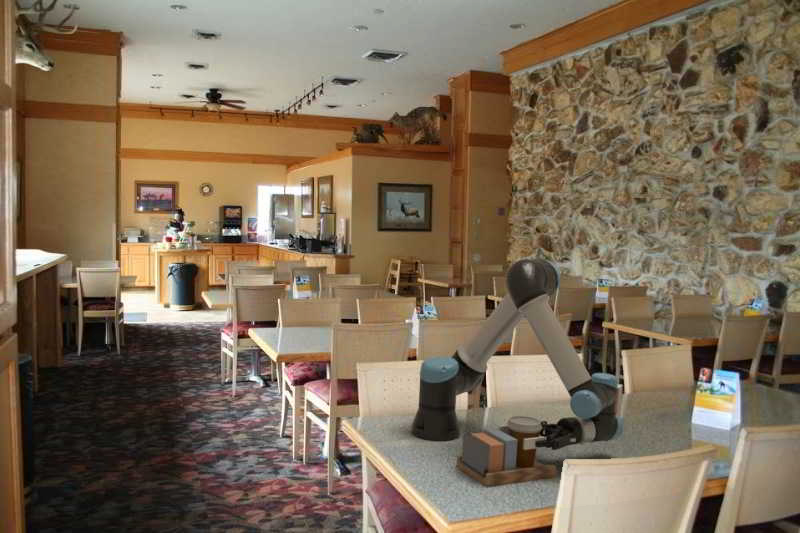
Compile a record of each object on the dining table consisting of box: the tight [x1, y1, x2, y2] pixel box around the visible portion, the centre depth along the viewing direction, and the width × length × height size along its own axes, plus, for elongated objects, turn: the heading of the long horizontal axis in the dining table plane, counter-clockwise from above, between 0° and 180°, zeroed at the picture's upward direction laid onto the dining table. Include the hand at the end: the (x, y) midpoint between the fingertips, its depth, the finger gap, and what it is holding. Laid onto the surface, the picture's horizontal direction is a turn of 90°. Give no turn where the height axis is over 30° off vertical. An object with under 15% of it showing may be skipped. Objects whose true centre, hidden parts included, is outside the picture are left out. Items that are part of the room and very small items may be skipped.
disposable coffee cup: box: [506, 415, 542, 468], centre depth 183 cm, size 10×10×12 cm
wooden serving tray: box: [456, 453, 557, 487], centre depth 181 cm, size 22×15×3 cm
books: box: [471, 427, 518, 473], centre depth 178 cm, size 8×11×9 cm
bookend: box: [460, 431, 490, 478], centre depth 176 cm, size 2×11×8 cm, turn 26°
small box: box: [616, 383, 623, 418], centre depth 236 cm, size 8×6×13 cm
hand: (511, 437), depth 181 cm, fingers open, 11 cm apart
